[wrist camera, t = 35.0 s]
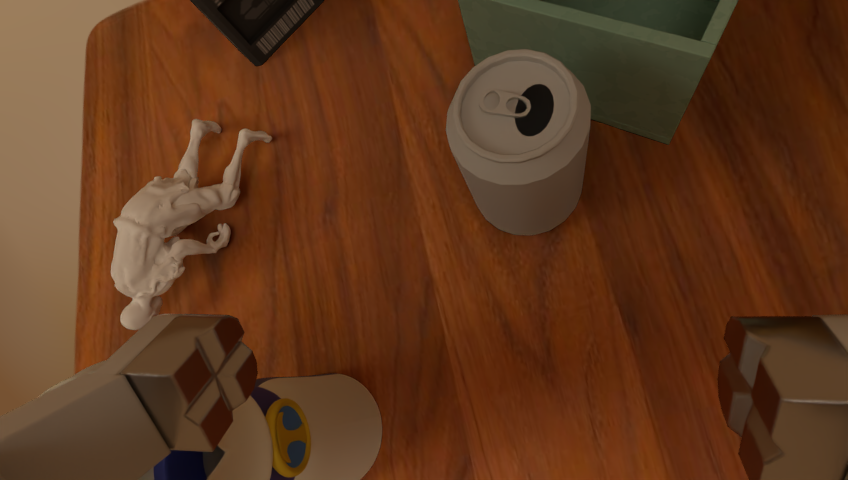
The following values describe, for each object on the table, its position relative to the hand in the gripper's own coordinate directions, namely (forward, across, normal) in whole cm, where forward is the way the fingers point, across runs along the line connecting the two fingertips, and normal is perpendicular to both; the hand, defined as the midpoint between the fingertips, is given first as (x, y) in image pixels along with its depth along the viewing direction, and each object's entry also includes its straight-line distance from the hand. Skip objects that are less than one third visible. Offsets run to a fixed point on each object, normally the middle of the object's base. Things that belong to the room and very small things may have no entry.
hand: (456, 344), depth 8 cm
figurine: (+26, +26, +10) cm, 38 cm away
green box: (+34, -6, +1) cm, 35 cm away
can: (+27, 0, +9) cm, 28 cm away
